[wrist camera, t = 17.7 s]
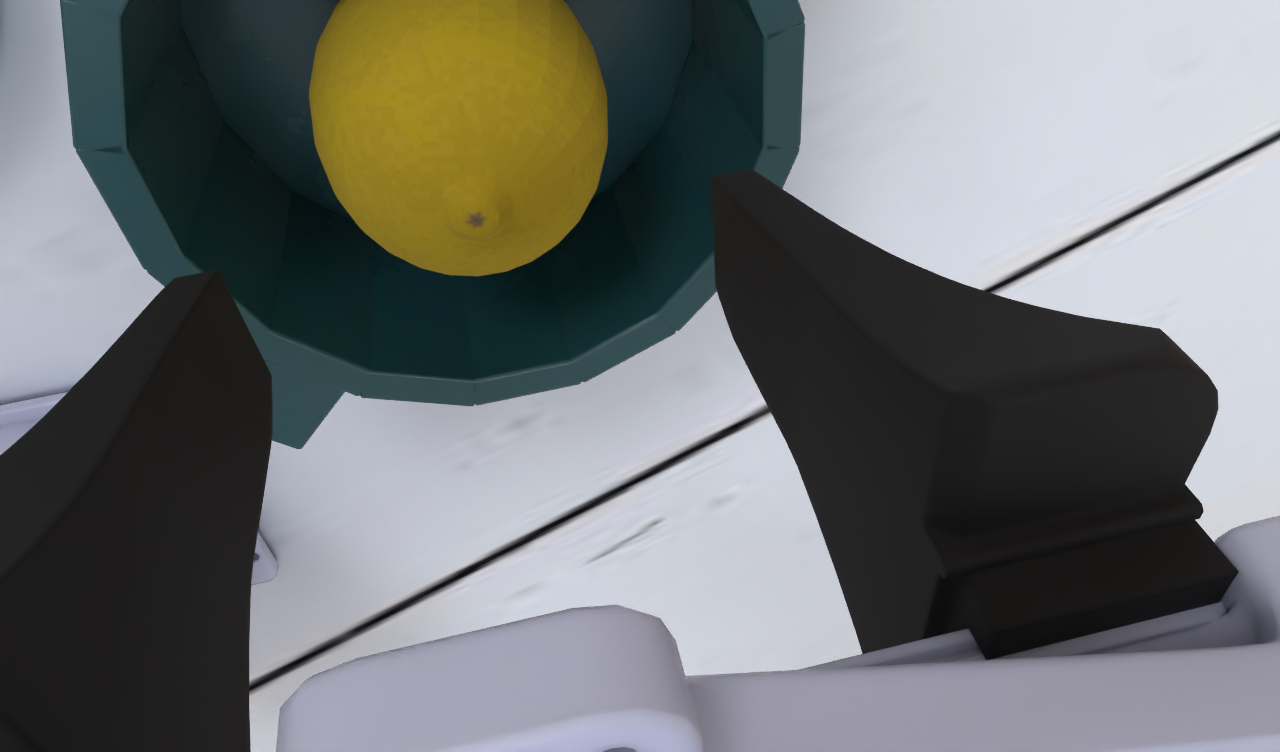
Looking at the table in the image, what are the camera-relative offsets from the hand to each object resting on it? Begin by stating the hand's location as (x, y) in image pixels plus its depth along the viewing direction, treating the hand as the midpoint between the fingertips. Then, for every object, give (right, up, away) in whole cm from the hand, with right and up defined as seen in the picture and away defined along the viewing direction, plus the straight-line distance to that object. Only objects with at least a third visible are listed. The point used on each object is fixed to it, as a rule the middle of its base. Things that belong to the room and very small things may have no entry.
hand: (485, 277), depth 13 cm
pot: (-2, +7, +7) cm, 10 cm away
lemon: (-2, +6, +7) cm, 10 cm away
